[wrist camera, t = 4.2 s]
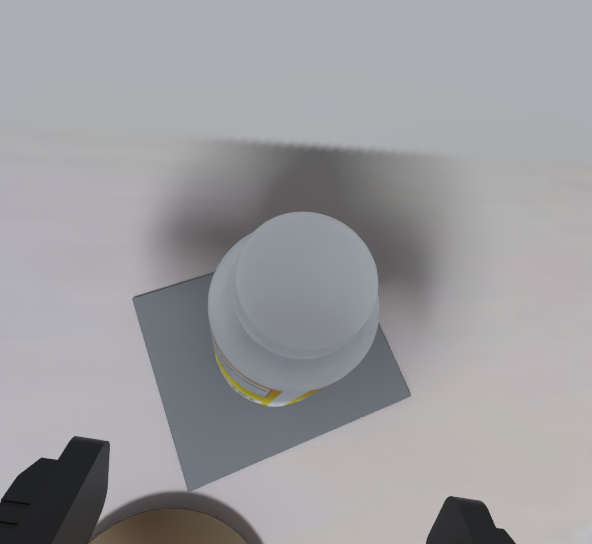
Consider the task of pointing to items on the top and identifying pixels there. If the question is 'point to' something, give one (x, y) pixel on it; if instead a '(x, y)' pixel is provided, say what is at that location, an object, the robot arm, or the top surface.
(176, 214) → the top surface
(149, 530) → the cork coaster
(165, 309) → the gray board
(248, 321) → the supplement bottle
